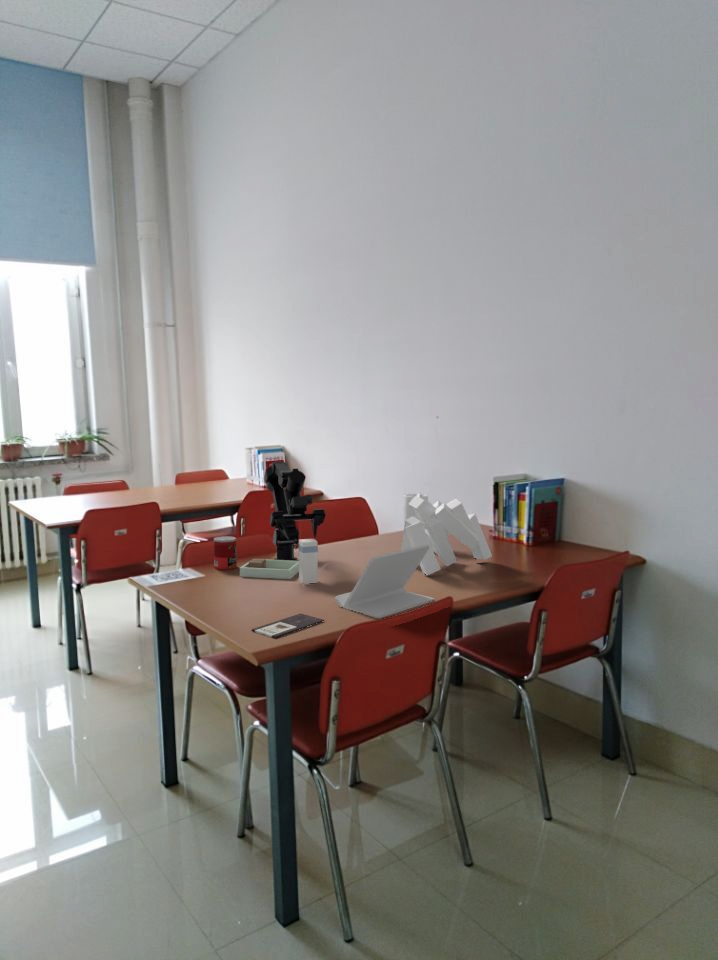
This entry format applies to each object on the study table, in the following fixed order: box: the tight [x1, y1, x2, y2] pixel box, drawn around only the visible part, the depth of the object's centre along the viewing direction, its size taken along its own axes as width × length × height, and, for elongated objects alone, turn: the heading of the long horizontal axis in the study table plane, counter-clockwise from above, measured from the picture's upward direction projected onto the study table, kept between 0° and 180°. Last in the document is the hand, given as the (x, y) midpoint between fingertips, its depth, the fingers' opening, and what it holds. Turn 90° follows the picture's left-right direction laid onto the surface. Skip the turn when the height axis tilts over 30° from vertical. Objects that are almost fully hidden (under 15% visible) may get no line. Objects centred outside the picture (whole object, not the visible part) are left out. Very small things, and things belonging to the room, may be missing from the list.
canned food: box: [213, 535, 238, 571], centre depth 252 cm, size 8×8×11 cm
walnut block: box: [248, 558, 267, 568], centre depth 246 cm, size 5×4×4 cm
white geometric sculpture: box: [400, 492, 493, 576], centre depth 254 cm, size 35×30×35 cm
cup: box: [402, 493, 429, 529], centre depth 287 cm, size 10×10×22 cm
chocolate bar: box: [251, 613, 325, 639], centre depth 189 cm, size 9×1×18 cm
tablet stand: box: [334, 545, 435, 619], centre depth 210 cm, size 18×25×17 cm
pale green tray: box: [239, 558, 299, 580], centre depth 245 cm, size 14×18×4 cm
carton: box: [298, 538, 319, 585], centre depth 234 cm, size 5×5×14 cm
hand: (302, 537), depth 240 cm, fingers open, 9 cm apart
